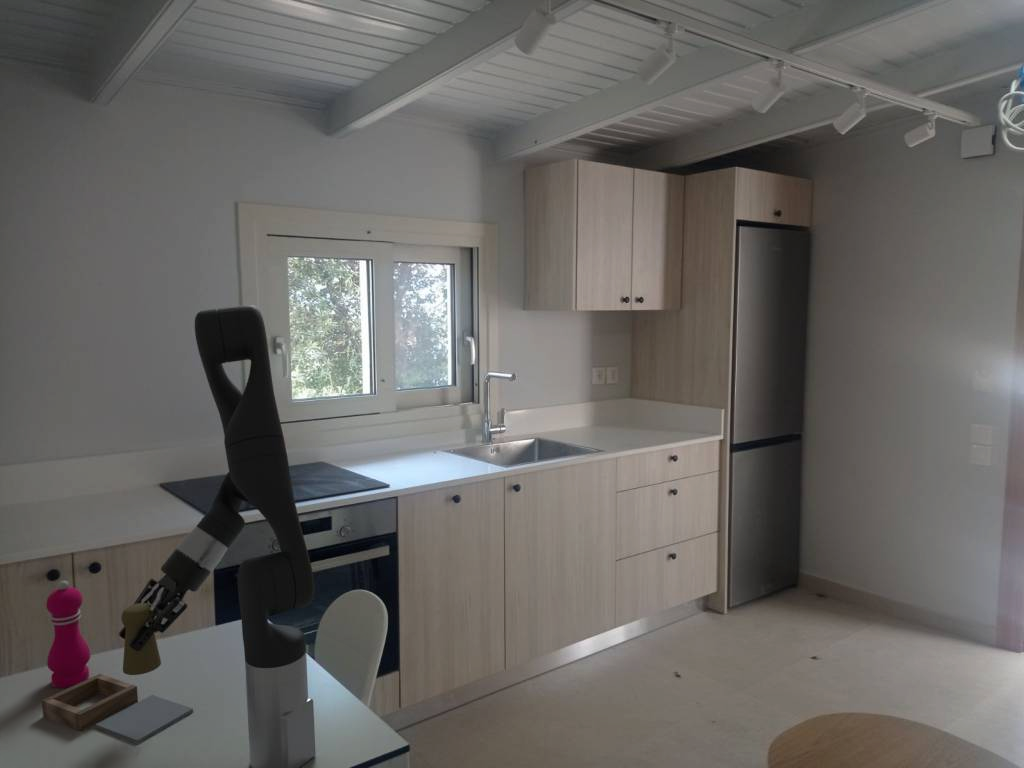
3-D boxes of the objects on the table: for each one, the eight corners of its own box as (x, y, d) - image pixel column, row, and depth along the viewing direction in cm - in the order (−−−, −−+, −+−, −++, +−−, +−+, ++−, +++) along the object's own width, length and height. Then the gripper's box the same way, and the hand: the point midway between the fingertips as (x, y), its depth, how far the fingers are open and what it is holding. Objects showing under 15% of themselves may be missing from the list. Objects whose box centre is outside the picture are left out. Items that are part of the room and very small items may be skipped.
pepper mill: (54, 674, 149) (47, 576, 147) (95, 668, 151) (88, 572, 149) (44, 692, 142) (35, 589, 140) (87, 685, 144) (79, 585, 142)
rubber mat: (193, 711, 134) (192, 708, 134) (137, 743, 124) (137, 740, 124) (152, 697, 139) (151, 694, 139) (95, 727, 129) (95, 724, 129)
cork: (145, 676, 127) (141, 614, 126) (114, 673, 129) (109, 611, 127) (168, 659, 133) (164, 600, 132) (138, 657, 134) (134, 598, 133)
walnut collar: (137, 701, 138) (136, 686, 137) (81, 731, 128) (79, 714, 128) (100, 688, 143) (99, 673, 142) (43, 716, 133) (41, 700, 133)
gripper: (165, 538, 139) (98, 620, 132) (194, 557, 128) (122, 647, 122) (196, 559, 143) (132, 639, 136) (226, 579, 133) (159, 667, 126)
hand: (128, 642), depth 129 cm, fingers closed on cork, 5 cm apart
